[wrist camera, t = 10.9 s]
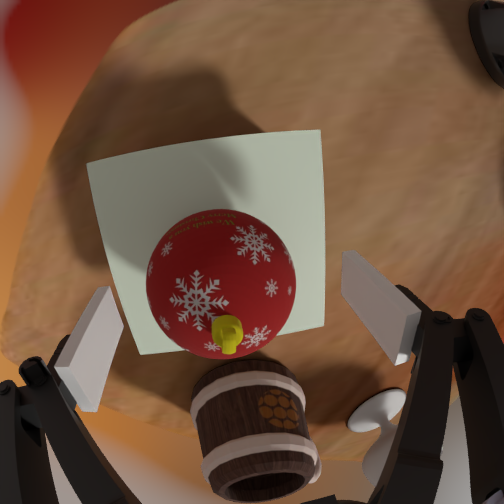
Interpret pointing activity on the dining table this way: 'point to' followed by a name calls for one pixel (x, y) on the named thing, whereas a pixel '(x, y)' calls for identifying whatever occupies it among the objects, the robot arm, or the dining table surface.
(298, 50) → the dining table surface
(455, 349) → the robot arm
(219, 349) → the christmas ornament
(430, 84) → the dining table surface
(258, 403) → the mug
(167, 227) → the mint green side table
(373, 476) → the chalice
